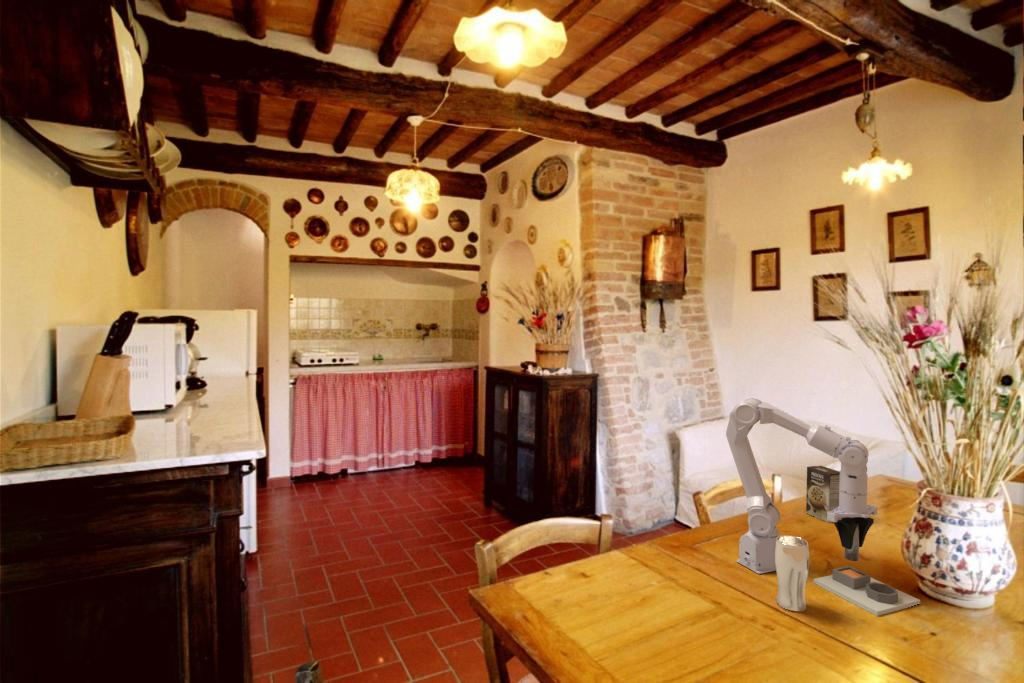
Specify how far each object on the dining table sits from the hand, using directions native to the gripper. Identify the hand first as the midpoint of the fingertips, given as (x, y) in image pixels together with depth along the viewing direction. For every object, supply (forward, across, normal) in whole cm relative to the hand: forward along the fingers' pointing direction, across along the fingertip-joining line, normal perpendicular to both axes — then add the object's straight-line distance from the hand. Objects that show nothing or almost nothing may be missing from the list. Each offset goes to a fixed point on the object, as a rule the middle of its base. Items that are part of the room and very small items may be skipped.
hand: (851, 546), depth 131 cm
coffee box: (+10, +35, +36) cm, 52 cm away
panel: (+10, 0, -4) cm, 11 cm away
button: (+8, 0, 0) cm, 8 cm away
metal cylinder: (+3, 0, 0) cm, 3 cm away
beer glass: (+10, -21, -2) cm, 23 cm away
